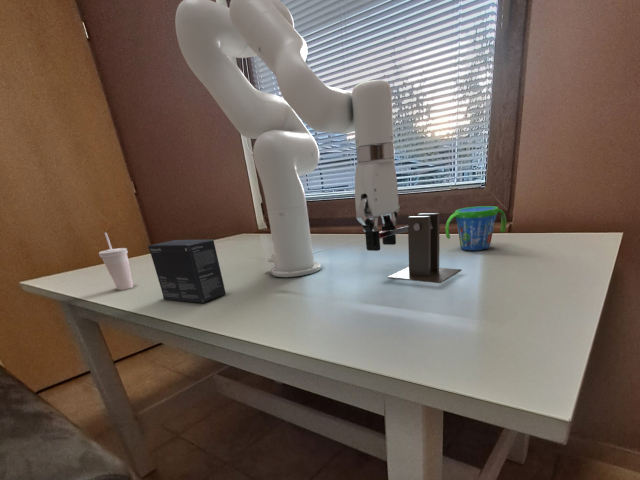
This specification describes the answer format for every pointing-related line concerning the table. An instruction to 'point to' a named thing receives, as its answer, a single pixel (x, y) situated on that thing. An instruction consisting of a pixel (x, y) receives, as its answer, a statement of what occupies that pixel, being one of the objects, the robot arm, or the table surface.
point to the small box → (188, 270)
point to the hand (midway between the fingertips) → (381, 246)
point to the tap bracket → (424, 251)
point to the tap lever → (397, 231)
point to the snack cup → (476, 226)
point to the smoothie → (117, 266)
